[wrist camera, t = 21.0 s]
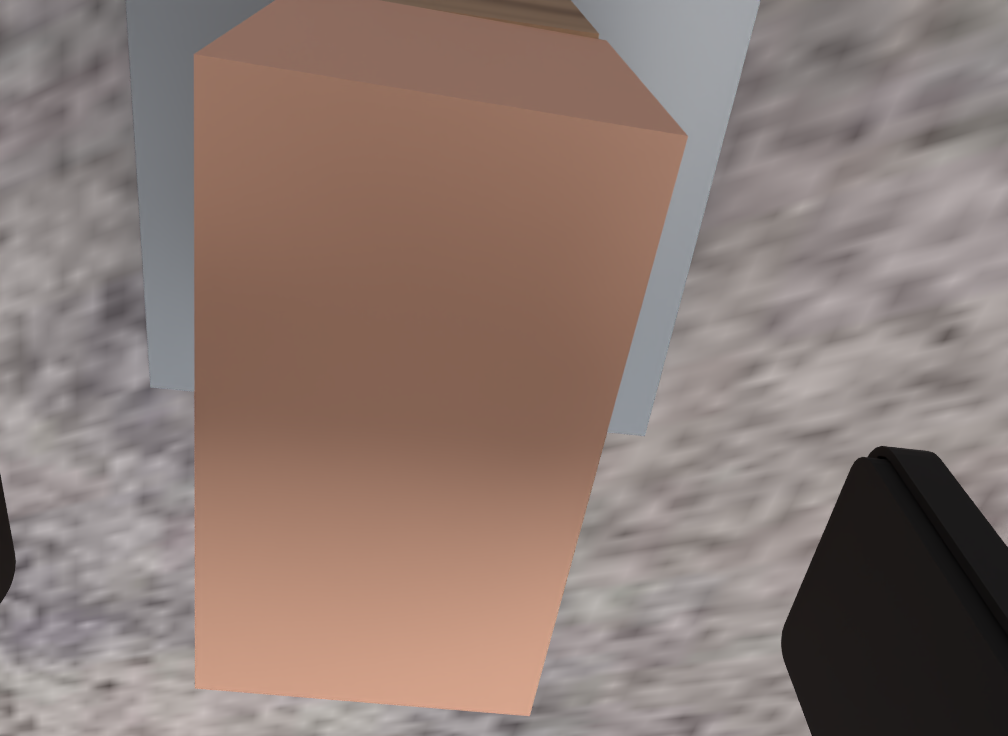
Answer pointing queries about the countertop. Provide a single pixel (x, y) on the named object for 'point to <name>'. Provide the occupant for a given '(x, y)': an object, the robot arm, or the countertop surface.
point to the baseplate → (618, 19)
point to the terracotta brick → (407, 341)
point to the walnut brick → (517, 13)
